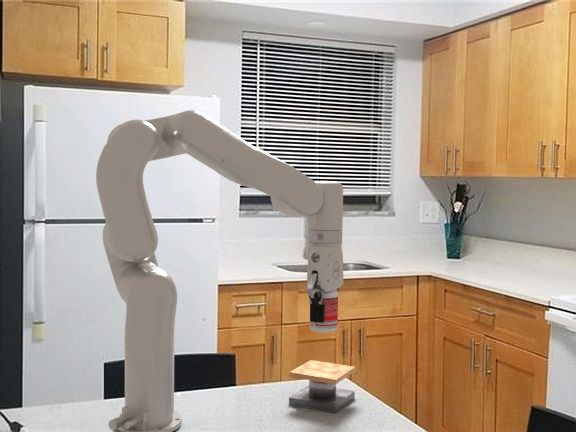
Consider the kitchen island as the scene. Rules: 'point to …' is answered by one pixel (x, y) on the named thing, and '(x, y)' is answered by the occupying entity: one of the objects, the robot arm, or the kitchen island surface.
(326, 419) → the kitchen island surface
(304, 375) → the stand
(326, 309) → the pill bottle
